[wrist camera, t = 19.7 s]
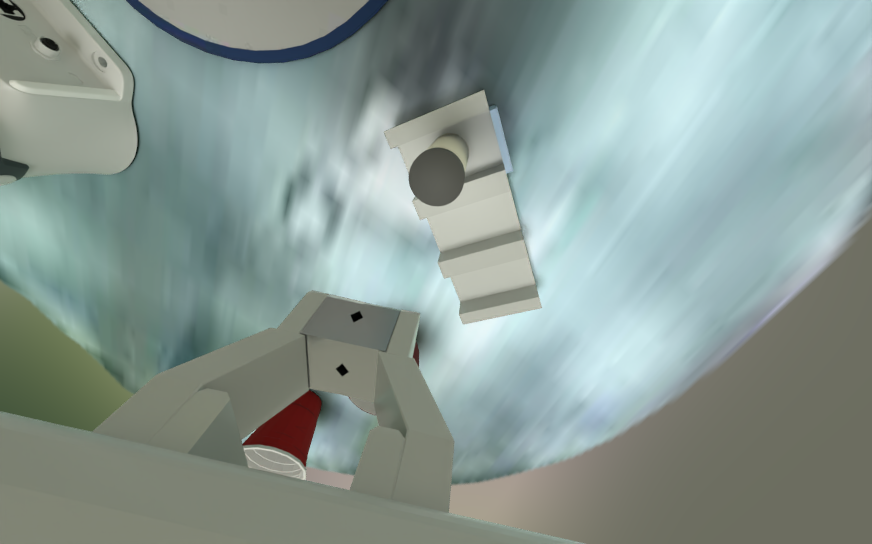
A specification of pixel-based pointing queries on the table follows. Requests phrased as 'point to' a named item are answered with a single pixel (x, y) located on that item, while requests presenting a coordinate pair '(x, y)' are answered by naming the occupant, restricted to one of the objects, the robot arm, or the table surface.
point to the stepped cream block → (475, 212)
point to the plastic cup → (285, 438)
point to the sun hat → (260, 25)
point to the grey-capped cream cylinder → (440, 170)
